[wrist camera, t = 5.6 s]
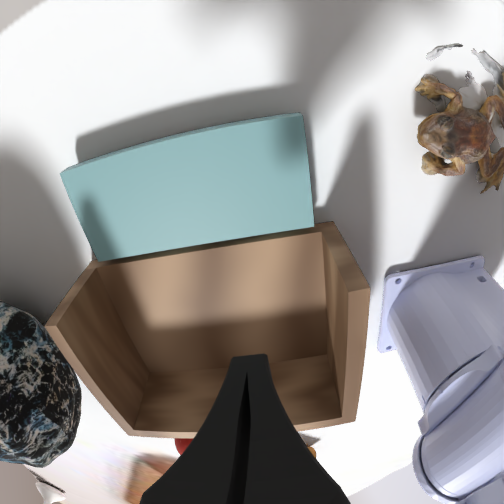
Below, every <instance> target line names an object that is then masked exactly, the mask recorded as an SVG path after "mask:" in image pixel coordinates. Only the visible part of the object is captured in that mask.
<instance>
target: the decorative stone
mask: <svg viewBox="0 0 504 504" xmlns="http://www.w3.org/2000/svg"><path fill="white" fill-rule="evenodd" d="M80 416H81V388H80V384H79V382H78V379H77V377H76V374H75V371H74V369H73V368H72V367H71V365H70V364H69V363H68V361H67V360H66V358H65V357H64V355H63V354H62V353H61V351H60V350H59V348H58V347H57V345H56V344H55V342H54V341H53V339H52V337H51V336H50V334H49V333H48V331H47V330H46V328H45V327H44V326H43V325H42V324H41V323H40V322H39V321H38V320H37V319H36V318H35V317H33V316H32V315H31V314H30V313H27V312H25V311H23V310H20V309H18V308H15V307H13V306H10V305H8V304H6V303H4V302H2V301H0V461H5V462H9V463H18V464H27V465H30V466H34V467H40V468H43V467H45V466H47V465H49V464H50V463H51V462H52V461H53V460H54V459H56V458H57V457H58V456H60V455H61V454H63V453H64V452H66V451H67V450H68V449H69V448H70V447H71V446H72V444H73V441H74V439H75V437H76V432H77V428H78V425H79V421H80Z"/></svg>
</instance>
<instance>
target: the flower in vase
mask: <svg viewBox="0 0 504 504" xmlns="http://www.w3.org/2000/svg"><path fill="white" fill-rule="evenodd" d="M36 486H37V488H38V490H39V492H40V493H41V495H42V496H43V499H44V503H43V504H51V503H53V502H56V501H61V500H64V499H65V498H66V496H65V495H64V494H63V493H62V492H61V491H59V490H58V489H56V488H54V487H52V486H50V485H48V484H46V483H42V482H36Z"/></svg>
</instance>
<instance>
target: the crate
mask: <svg viewBox="0 0 504 504" xmlns="http://www.w3.org/2000/svg"><path fill="white" fill-rule="evenodd" d="M369 302H370V286H369V285H368V283H367V281H366V279H365V277H364V275H363V273H362V271H361V270H360V268H359V266H358V264H357V262H356V261H355V259H354V257H353V255H352V253H351V252H350V250H349V248H348V246H347V244H346V243H345V241H344V239H343V237H342V236H341V234H340V232H339V231H338V229H337V227H336V225H335V224H334V222H333V221H332V222H325V223H318V224H314V227H309V228H302V229H295V230H289V231H282V232H276V233H269V234H263V235H257V236H250V237H244V238H238V239H231V240H225V241H219V242H213V243H207V244H201V245H194V246H188V247H182V248H176V249H170V250H164V251H158V252H153V253H147V254H141V255H135V256H129V257H123V258H118V259H112V260H106V261H101V262H98V260H94V261H91V262H90V264H89V265H88V266H87V268H86V269H85V270H84V271H83V273H82V274H81V275H80V277H79V278H78V279H77V281H76V282H75V283H74V285H73V286H72V287H71V289H70V290H69V291H68V293H67V294H66V296H65V297H64V298H63V300H62V301H61V302H60V304H59V305H58V307H57V308H56V310H55V311H54V312H53V314H52V315H51V317H50V318H49V320H48V321H47V323H46V324H45V328H46V330H47V331H48V333H49V334H50V336H51V337H52V339H53V341H54V342H55V344H56V345H57V347H58V348H59V350H60V351H61V353H62V354H63V355H64V357H65V358H66V360H67V361H68V363H69V364H70V365H71V367H72V368H73V369H74V371H75V372H76V374H77V375H78V376H79V378H80V379H81V380H82V381H83V383H84V384H85V385H86V387H87V388H88V389H89V390H90V392H91V393H92V394H93V395H94V397H95V398H96V399H97V400H98V402H99V403H100V404H101V405H102V406H103V408H104V409H105V410H106V411H107V412H108V413H109V415H110V416H111V417H112V418H113V419H114V420H115V421H116V422H117V424H118V425H119V426H120V427H121V428H122V429H123V430H124V431H125V432H126V433H127V434H128V435H129V436H141V437H158V438H194V437H195V435H196V434H197V432H198V431H199V429H200V428H201V426H202V424H203V423H204V421H205V419H206V417H207V415H208V414H209V412H210V410H211V408H212V406H213V404H214V402H215V400H216V398H217V396H218V393H219V391H220V389H221V387H222V384H223V382H224V379H225V376H226V374H227V371H228V368H229V365H230V361H231V359H232V358H233V357H236V356H246V355H254V354H263V353H264V354H266V355H267V356H268V361H269V366H270V370H271V375H272V380H273V384H274V386H275V389H276V391H277V394H278V396H279V398H280V401H281V403H282V405H283V407H284V409H285V411H286V413H287V415H288V417H289V419H290V420H291V422H292V424H293V426H294V427H295V429H296V431H304V430H311V429H317V428H323V427H329V426H334V425H339V424H344V423H349V422H354V421H355V419H356V414H357V408H358V401H359V395H360V388H361V381H362V374H363V366H364V358H365V349H366V339H367V328H368V316H369Z"/></svg>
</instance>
